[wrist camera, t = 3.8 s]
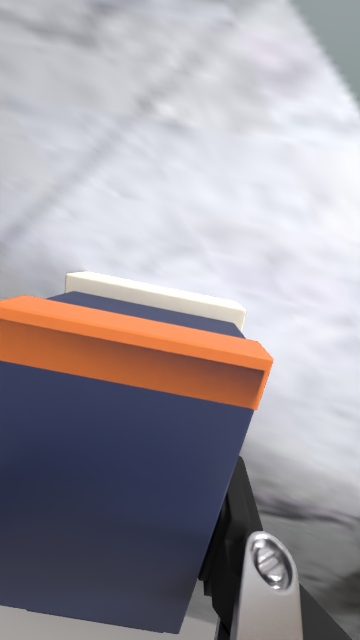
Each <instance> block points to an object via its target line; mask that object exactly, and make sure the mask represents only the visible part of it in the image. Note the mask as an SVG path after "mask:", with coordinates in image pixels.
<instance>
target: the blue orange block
mask: <svg viewBox="0 0 360 640" xmlns="http://www.w3.org/2000/svg"><path fill="white" fill-rule="evenodd" d="M246 312H247V311H246V309H245V308H243V307H242V306H241V305H240V304H239V303H237V302H236V301H231V300H226V299H221V298H216V297H211V296H206V295H201V294H196V293H191V292H186V291H182V290H177V289H172V288H167V287H162V286H157V285H152V284H147V283H142V282H137V281H132V280H127V279H122V278H118V277H113V276H108V275H103V274H98V273H93V272H88V271H84V272H76V273H68V274H66V280H65V293H64V294H61V295H57V296H54V297H50V298H47V299H42V298H37V297H32V296H27V295H23V296H18V297H14V298H9V299H5V300H0V605H2V606H8V607H14V608H20V609H26V610H27V611H31V612H38V613H43V614H49V615H56V616H62V617H68V618H74V619H80V620H86V621H92V622H98V623H104V624H111V625H117V626H123V627H129V628H135V629H141V630H148V631H153V632H159V633H163V632H166V633H173V634H178V633H179V631H180V628H181V625H182V622H183V620H184V617H185V614H186V611H187V608H188V605H189V602H190V599H191V596H192V593H193V590H194V587H195V584H196V581H197V578H198V575H199V572H200V569H201V566H202V563H203V560H204V557H205V554H206V551H207V548H208V545H209V542H210V539H211V537H212V534H213V531H214V528H215V525H216V522H217V519H218V516H219V513H220V510H221V507H222V504H223V501H224V498H225V495H226V492H227V489H228V486H229V483H230V480H231V477H232V474H233V471H234V468H235V465H236V462H237V459H238V456H239V453H240V451H241V448H242V445H243V442H244V439H245V436H246V433H247V430H248V427H249V424H250V421H251V418H252V415H253V412H254V410H257V408H258V405H259V402H260V399H261V396H262V393H263V390H264V388H265V385H266V382H267V379H268V376H269V373H270V370H271V367H272V364H273V358H272V357H271V356H270V355H269V353H268V352H267V351H266V350H265V349H264V348H263V347H262V345H261V344H260V343H259V342H258V341H253V340H248V339H246V338H245V337H244V336H243V334H242V333H241V330H242V326H243V323H244V319H245V316H246Z"/></svg>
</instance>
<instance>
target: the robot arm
mask: <svg viewBox="0 0 360 640" xmlns="http://www.w3.org/2000/svg"><path fill="white" fill-rule="evenodd" d="M198 579H199V580H200V581H203V583H204V595H205V596H211V597H212V606H213V608H214V610H215V611H216V613H217V614H218V621H217V627H216V632H215V638H214V640H352V639H351V638H350V637H349V636H348V635H347V634H346V633H345V632H344V631H343V629H342V628H341V627H340V626H339V625H338V624H337V623H336V622H335V621H334V620H333V619H332V618H331V617H330V615H329V614H328V613H327V612H326V611H325V610H324V609H323V608H322V607H321V606H320V605H319V604H318V603H317V601H316V600H315V599H314V598H313V597H312V596H311V595H310V594H309V593H308V592H307V591H306V590H305V589H304V587H303V586H302V585H301V584H300V583H299V577H298V572H297V567H296V565H295V563H294V560H293V558H292V556H291V554H290V553H289V551H288V550H287V548H286V547H285V546H284V545H283V544H282V543H281V542H280V540H278V539H277V538H276V537H274V536H273V535H271V534H269V533H267V532H264V531H263V528H262V525H261V521H260V518H259V514H258V510H257V507H256V503H255V500H254V496H253V493H252V489H251V486H250V482H249V478H248V475H247V471H246V468H245V464H244V461H243V459H242V457H240V456H238V459H237V462H236V465H235V468H234V471H233V474H232V477H231V480H230V483H229V486H228V489H227V492H226V495H225V498H224V501H223V504H222V507H221V510H220V513H219V516H218V519H217V522H216V525H215V528H214V531H213V534H212V537H211V539H210V542H209V545H208V548H207V551H206V554H205V557H204V560H203V563H202V566H201V569H200V572H199V575H198Z"/></svg>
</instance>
